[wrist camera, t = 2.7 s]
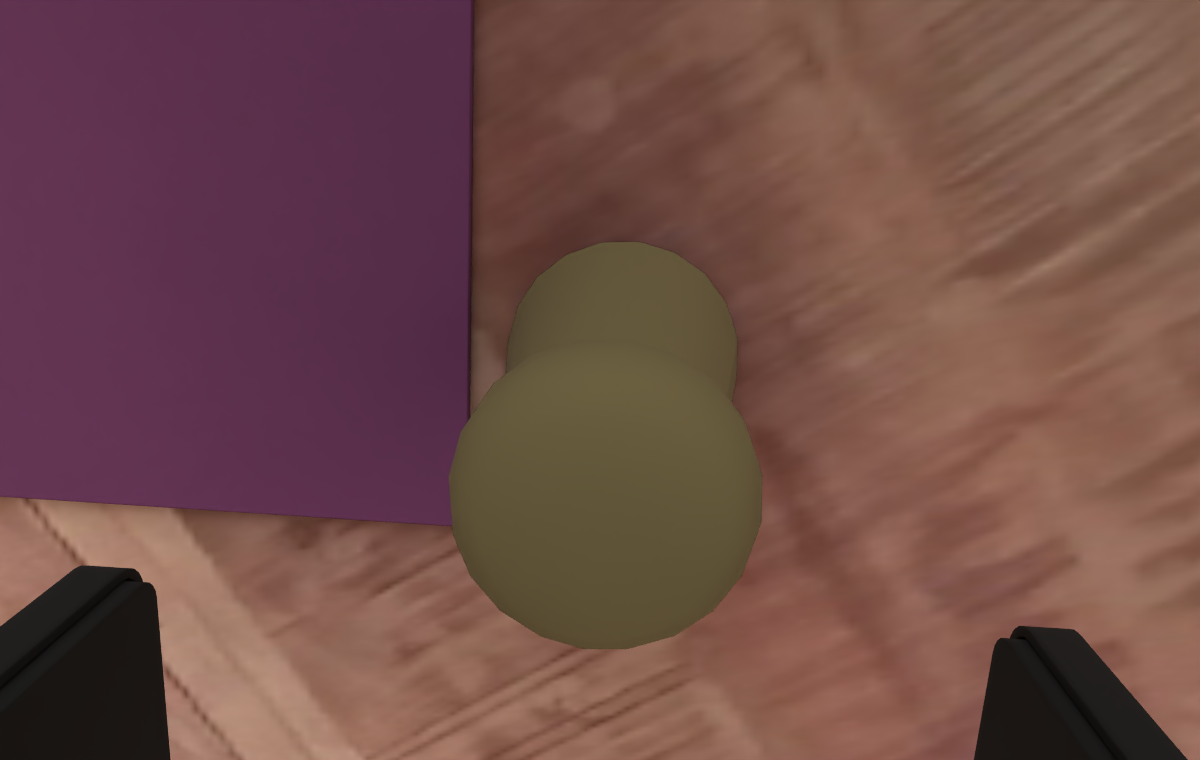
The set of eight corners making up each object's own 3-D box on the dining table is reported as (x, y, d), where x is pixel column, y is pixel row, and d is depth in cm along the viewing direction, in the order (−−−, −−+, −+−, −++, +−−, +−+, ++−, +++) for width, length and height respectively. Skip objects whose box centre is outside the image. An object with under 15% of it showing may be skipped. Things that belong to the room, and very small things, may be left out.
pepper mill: (496, 447, 26) (386, 683, 15) (520, 224, 24) (415, 314, 13) (717, 479, 25) (764, 739, 15) (757, 258, 24) (841, 374, 13)
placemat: (-225, -337, 21) (-241, -345, 21) (477, -315, 21) (473, -323, 20) (-90, 485, 27) (-100, 490, 26) (469, 521, 26) (466, 527, 26)
